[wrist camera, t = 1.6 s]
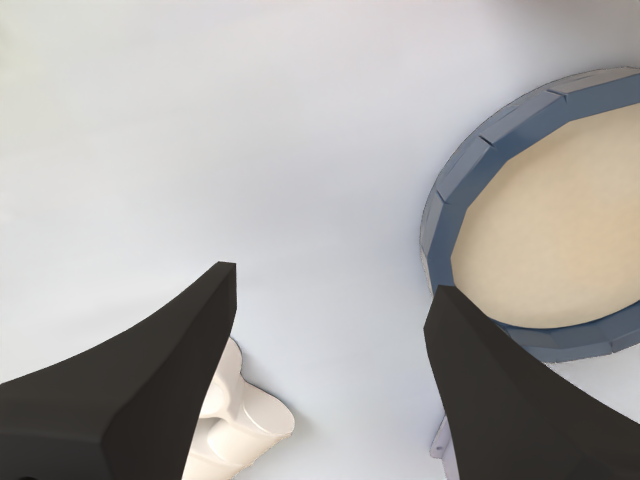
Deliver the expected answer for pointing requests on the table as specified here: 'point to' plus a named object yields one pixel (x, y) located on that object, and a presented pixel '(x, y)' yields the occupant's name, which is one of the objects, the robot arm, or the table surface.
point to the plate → (547, 217)
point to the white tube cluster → (234, 423)
